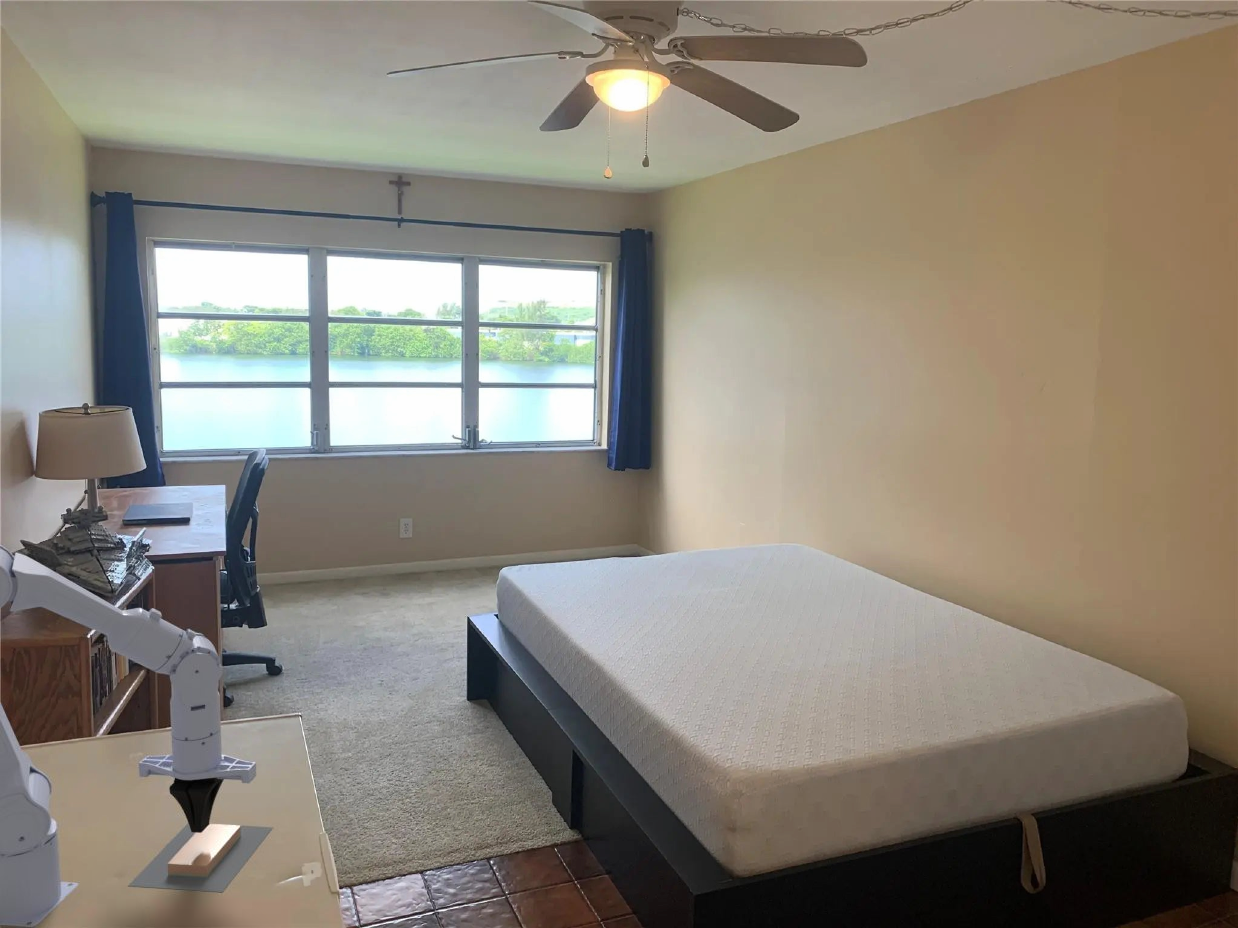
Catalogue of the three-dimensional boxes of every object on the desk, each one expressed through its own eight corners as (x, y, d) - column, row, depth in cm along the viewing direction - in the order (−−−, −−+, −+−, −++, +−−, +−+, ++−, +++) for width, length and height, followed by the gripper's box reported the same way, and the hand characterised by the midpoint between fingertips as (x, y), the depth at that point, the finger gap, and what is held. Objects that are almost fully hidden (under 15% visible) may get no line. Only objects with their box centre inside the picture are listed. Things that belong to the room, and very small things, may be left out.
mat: (128, 888, 107) (127, 885, 107) (189, 824, 120) (188, 821, 120) (222, 894, 106) (222, 891, 106) (273, 829, 120) (273, 827, 120)
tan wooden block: (206, 877, 109) (168, 874, 109) (240, 836, 118) (205, 833, 118) (206, 865, 108) (167, 863, 109) (240, 825, 117) (204, 823, 117)
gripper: (265, 719, 114) (268, 814, 116) (159, 713, 115) (163, 807, 117) (240, 745, 107) (243, 845, 109) (126, 738, 108) (132, 837, 110)
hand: (200, 828), depth 113 cm, fingers closed
